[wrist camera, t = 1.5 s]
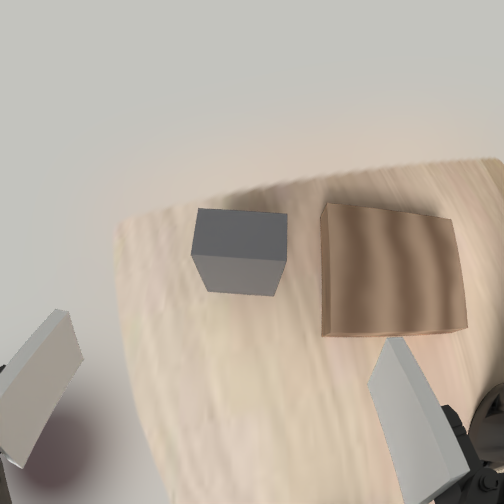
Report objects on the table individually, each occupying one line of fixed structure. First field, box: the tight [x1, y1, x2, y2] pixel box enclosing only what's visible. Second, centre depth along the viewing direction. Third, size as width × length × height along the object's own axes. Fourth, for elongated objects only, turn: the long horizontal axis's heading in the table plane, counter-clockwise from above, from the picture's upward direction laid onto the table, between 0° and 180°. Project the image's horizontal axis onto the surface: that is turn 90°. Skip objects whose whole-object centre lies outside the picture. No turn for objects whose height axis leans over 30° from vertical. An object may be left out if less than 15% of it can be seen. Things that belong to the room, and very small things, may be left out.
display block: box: [320, 203, 468, 337], centre depth 35 cm, size 20×16×4 cm
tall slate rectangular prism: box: [191, 208, 287, 296], centre depth 31 cm, size 8×5×12 cm, turn 86°
